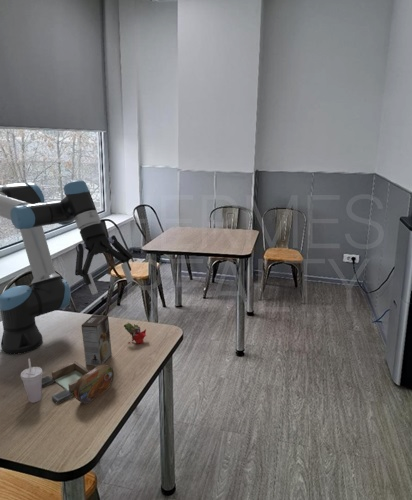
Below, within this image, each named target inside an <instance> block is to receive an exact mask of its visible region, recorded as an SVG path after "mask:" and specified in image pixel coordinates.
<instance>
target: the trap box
mask: <svg viewBox="0 0 412 500" xmlns="http://www.w3.org/2000/svg"><path fill="white" fill-rule="evenodd" d="M90 371H91V370H90V369H88V368H86V367H85V366H84V365H82V364H80V363H79V362H77V361H75V360H74V361H72V362H70V363H68V364H65V365H64V366H61V367H59V368H56V369H55V370H52V371H51V376H52V377H51V376H50V375H49V374H48V375H46V376H44V377H42V388H44V387H46V386H49V385H51V384H53V383H54V382H55V383H56V384H58V385H59V386H61V387H62V388H63V390H60V392H57V393H56V394H53V395H52V396H51V399H52V400H53V401H54V402H55V403H56V404H60V403H62V402H64V401H66V400H68V399H70V398H72V397H73V393H74V388H75V385H76V383H77V381H78V380H79V379H80V378H81V377H82V376H84V375H85V374H87V373H88V372H90Z"/></svg>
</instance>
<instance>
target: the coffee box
mask: <svg viewBox="0 0 412 500" xmlns="http://www.w3.org/2000/svg"><path fill="white" fill-rule="evenodd" d="M80 327H81V334H82V341H83V342H82V344H83V351H84V353H83V354H84V360H85V361H84V362H85V365H86V366H95V367H97V366H99V365H104V364H105V362H106V361H107V360H108V358H109V357H110V356H112V346H111V344H112V343H111V333H110V323H109V315H99V314H91V316H90V317H89V318H88V319H86V320H85V321H84V322H83V323H82V324H81V326H80Z"/></svg>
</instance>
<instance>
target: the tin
mask: <svg viewBox="0 0 412 500" xmlns="http://www.w3.org/2000/svg"><path fill="white" fill-rule="evenodd" d="M89 371H90V372H88V373H87V374H85V375H84V376H82V377H81V378H80V379H79V380H78V381H77V383H76V385H75V388H74V392H73V393H74V397H75V400H77V401H78V402H81V403H82V404H89V403H90V402H92V401H93V400H94V399H96V398H98V397H99V396H100V395H102V394H103V393H104V392H106V391H107V390H108V389H109V388H110V387H111V386H112V384H113V381H114V377H115V371H114V369H113V367H112V366H110V365H107V364H103V365H99V366H95V367H94V368H93V369H91V370H89Z"/></svg>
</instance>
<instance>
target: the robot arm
mask: <svg viewBox="0 0 412 500" xmlns="http://www.w3.org/2000/svg"><path fill="white" fill-rule="evenodd" d="M63 191H64V192H63V193H64V195H65V196H64V198H62V199H61V200H53V201H47V202H46V199H45V195H44V193H43V191H42V189H41V188H40V186H39V185H37V184H36V183H35V182H29V181H28V182H25V181H23V182H18V183H17V182H15V183H6V184H0V217H1V218H5V219H8V220H10V221H11V224H12V225H13V227H14V228H15V229H17V230H19V231H20V234H21V238H22V241H23V244H24V249H25V252H26V255H27V258H28V262H29V263H28V264H29V266H30V269H31V273H32V277H33V279H32V281H31V283H30V285H31V287H30V286H29V285H28V284H27V285H24V284H23V285H16V286H13V287H10V288H8V289H6V290H5V291H3V292H2V293H1V294H0V316H1V317H0V318H1V321H2V329H3V333H2V336H1V342H0V343H1V344H0V349H1V351H2V353H4V354H7V355H22V354H26V353H30V352H32V351H36V350H37V349H38V348H40V347H41V345H42V344H43V343H44V341H43V335H42V333H41V332H40V331H39V328H38V326H37V323H36V317H40V316H43V315H45V314H49V313H52V312H55V311H59V310H61V309H63V308H66V307H67V306H69V304H70V300H71V297H72V296H71V295H72V294H71V287H70V284H69V283H68V281H67V280H66V279H64V278H62V276H61V274H58V273H57V272H56V270H55V269H56V268H55V266H54V262H53V260H52V256H51V255H52V254H51V253H50V252H51V251H50V249H49V245H48V242H47V238H46V235H45V234H46V233H45V232H44V226H49V225H55V224H58V225H61V226H68V225H70V224H71V223H74V222H75V225H76V227H77V228H78V230H80V231H79V234H80V237H81V239H82V241H83V243H78V244H77V245H76V246H75V249H76V250H75V251H76V259H75V261H76V262H75V269H74V275H75V276H78V277H79V276H80V277H81V278H82V279H83V282H84V284H85V285H86V286H88V288H89V290H90V292H91V295H92V296H94V295H96V294H98V293H99V292H98V289H97V286H96V283H95V281H94V278H93V275H92V273H91V272H89V271H90V267H91V264H92V261H93V258H94V257H95V256H97V255H99V254H103V253H106V254H108V255H110V256H111V257H113V258H114V259H115V260H117V261H119V262H120V263H122V264H120V267H121V269H122V271H123V274H124V277H125V280H126V282H127V283H131V282H132V281H134V278H133V275H132V272H131V271H132V268H131V264H130V262H129V261H130V260H131V259H132V258H133V255H132V254H131V253H130V252H129V251H128V250H127V249H126V248H125V247H124V246H123V245H122V244H121V243H120V242H119V241H118V239H117V237H116V235H112V236H110V237H107V235H106V231H105V228H104V226H103V224H102V223H101V222H102V221H101V219H100V216H99V214H98V210H97V208H96V205H95V202H94V199H93V197H92V194H91V190H90V189H89V187H88V184H87V182H85V181H84V180H82V179H81V180H80V179H77V180H73V181H70V182H68V183H65V185H64V186H63ZM110 244H111V245H110ZM85 249H86V250H87V251H88V252H87V254H86V259H85V260H84V254H85V252H84V251H85ZM84 261H85V262H84ZM83 263H84V264H83Z"/></svg>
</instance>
